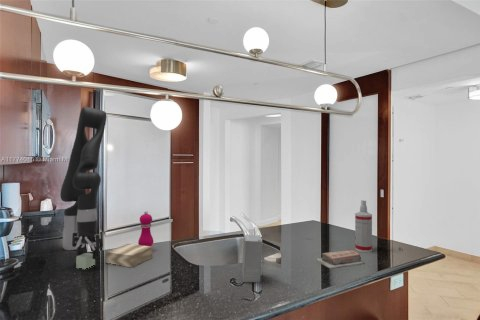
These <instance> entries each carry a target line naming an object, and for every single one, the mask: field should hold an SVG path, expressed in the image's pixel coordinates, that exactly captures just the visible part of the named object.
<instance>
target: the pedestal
mask: <svg viewBox="0 0 480 320" xmlns="http://www.w3.org/2000/svg"><path fill="white" fill-rule="evenodd" d="M153 248H154V247H153V245H152V246H143V245H139V244H132V243H127V244H124V245H121V246H118V247H116V248H113V249H110V250H107V251H106V252H105V263H106V262H107V263H111V264H110V265H112V264H116V265H115V266H119V265H121V266H120V267H127V268H133V267H136V266H138V265H140V264H142V263H144V262H145V261H148V260H150V259H153V253H154V251H153Z"/></svg>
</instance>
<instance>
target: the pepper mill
mask: <svg viewBox="0 0 480 320" xmlns="http://www.w3.org/2000/svg"><path fill="white" fill-rule="evenodd" d="M152 221H153V216H152V215H151V214H149V212H148V211H147V210H145V211H143V214H141V215H140V217H139V223H140V228H141V232H140V236H139V238H138V241H137V245H143V246H152V247H153V245H154V238H153V236H152V233H151V227H152Z"/></svg>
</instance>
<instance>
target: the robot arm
mask: <svg viewBox="0 0 480 320" xmlns="http://www.w3.org/2000/svg"><path fill="white" fill-rule="evenodd" d="M78 117H79V118H78V122H77V128H76V134H75V139H74V141H73V142H74V143H73V146H72V149H71V153H70V157H69V162H68V166H67V170H66V174H65V176H64V179H63V182H62V185H61V188H60V193H59V194H60V200H61V201H62V202H64V203H68V202H72V203H73V202H75V203H73V205H70V207H67V208H65V209H64V211H63V212H64V213H63V216H64V217H63V218H64V219H63V220H64V222H63V223H64V224H63V226H64V227H63V229H62V249H64V251H75V252H76V254H75V255H76V256H79V255H82V254H83V248H85V244H86V245H89V247H91V249H92V254H93V259H95V260H96V259H99V256H100V255H99V250H100V249H102V248H104V243H103V234H102V233H96V232H97V229H98V213H97V212H98V211H97V196H98V191H99V188H100V185H101V182H102V177H101V175H100V174H99V173H98V172H94V171H92V170H95V169H97V168H98V164H99V156H100V149H101V144H102V141H103V138H104V133H105V128H106V123H107V112H106V111H104V110H102V109H97V108H93V107H89V106H83V107H82V108H81V110H80V112H79V116H78ZM86 128H90V129H95V130H96V131H95V133H94V135H93V136H92V137H91V138H90V139H89V140H88V137H87V134H86ZM89 171H92V172H89ZM87 190H89V192H88V193H87Z"/></svg>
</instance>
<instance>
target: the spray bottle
mask: <svg viewBox="0 0 480 320" xmlns="http://www.w3.org/2000/svg"><path fill="white" fill-rule="evenodd" d="M354 215H355V217H354V219H355V220H354V221H355V223H354V225H355V226H354V227H355V229H354V230H355V231H354V234H355V235H354V237H355V238H354V240H355V241H354V242H355V243H354V244H355V245H354V248H355V250H356V252H360V253H372V252H373V213H370V212H368V206H367V200H361V201H360V207H359V211H358V212H356V213H354ZM355 250H354V251H355Z"/></svg>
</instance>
